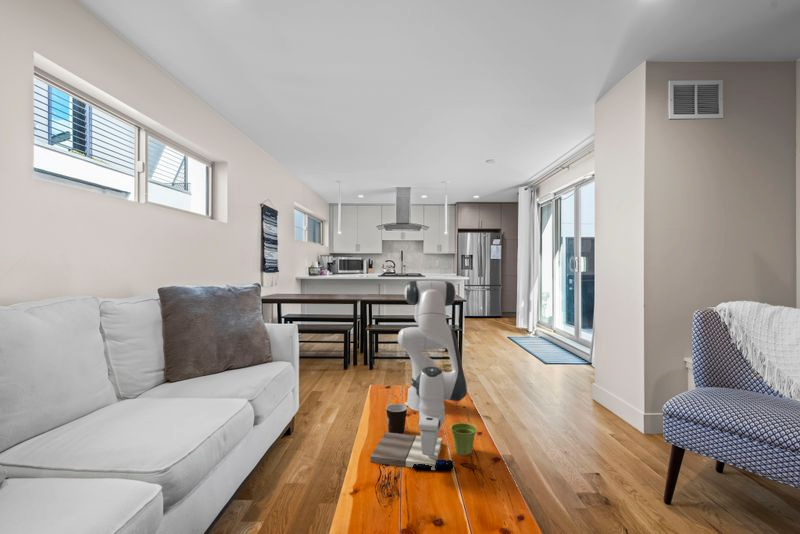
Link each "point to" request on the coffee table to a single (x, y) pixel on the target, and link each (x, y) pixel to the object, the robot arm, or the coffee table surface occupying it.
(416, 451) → the ash plank
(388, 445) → the grey brown flat block
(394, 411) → the coffee mug
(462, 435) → the plant pot
